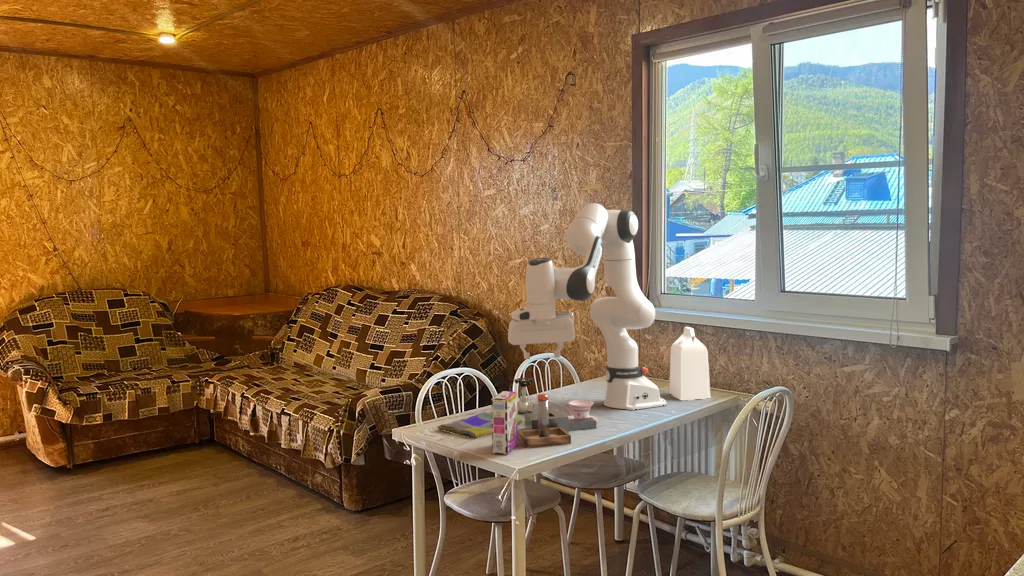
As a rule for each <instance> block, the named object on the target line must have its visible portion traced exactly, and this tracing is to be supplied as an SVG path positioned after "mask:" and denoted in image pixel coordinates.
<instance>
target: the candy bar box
mask: <svg viewBox="0 0 1024 576" xmlns="http://www.w3.org/2000/svg"><path fill="white" fill-rule="evenodd" d="M517 402H518V391H512V390H511V391H509V390H507V391H506V390H505V391H504V390H503V391H501V392H499V393H498V394H496V395H495V396H493V397H492V398H491V414H492V434H491V450H492V452H491V454H492V455H493V454H494V455H502V454H503V455H507V456H508V455H509V453H510V452H512V450H513V449H514V448H516V447H517V446H518V443H519V440H518V431H519V430H518V429H519V428H518V427H519V426H518V425H519V424H518V421H517V418H518V412H517Z"/></svg>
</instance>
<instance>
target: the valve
mask: <svg viewBox="0 0 1024 576" xmlns="http://www.w3.org/2000/svg"><path fill="white" fill-rule="evenodd" d="M513 381H514V383H515V384H516V385H517V384H519V386H520V387H521V388H522V389H521V390H520V391H521V396H519V401H517V413H522V414H525V413H535V402H534V401H529V396H527V387H528V386H530V384H531V383H533V382H534V379H533V378H531V377H529V378H527V377H523V378H521V377H518V378H517V379H516V378H514V379H513Z"/></svg>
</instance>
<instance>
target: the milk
mask: <svg viewBox="0 0 1024 576" xmlns="http://www.w3.org/2000/svg"><path fill="white" fill-rule="evenodd" d="M708 351H709V350H708V349H707V347H706V345H705V344H704V343H702V342H701V340H700V339H698V338H697V337H696V334H695V329H694V328H693V327H689V326H684V328H683V333H682V334H681V335H680V336H679V337H678V338H677V339H676V340H675V341H674V342H673V343H672V345H671V347H670V357H669V358H670V363H669V390H668V391H669V393H670V394H672V395H673V396H675V397H676V398H675V397H674V398H675V399H677V398H678V399H680V400H688V401H695V400H694V399H703V400H707V399H706V398H711V384H710V383H711V379H710V367H709V366H710V364H709V352H708ZM669 393H668V394H669ZM670 394H669V395H670ZM672 395H671V396H672ZM673 396H672V397H673ZM678 399H677V400H678ZM711 399H712V398H711ZM680 400H679V401H680Z"/></svg>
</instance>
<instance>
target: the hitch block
mask: <svg viewBox="0 0 1024 576" xmlns="http://www.w3.org/2000/svg"><path fill="white" fill-rule="evenodd" d="M568 416H569V415H568ZM568 416H567V415H566V414H565V413H564V412H562V411H561V410H552V411H550V410H549V428H558V427H562V428H563V429H564V430H565V431H566V432H567V433H569V432H572V431H580V430H581V431H582V430H592V429H591V428H594V429H597V423H596V420H594V419H593V418H592V417H589V418H577V419H568ZM524 429H525V430H535V429H539V424H538V411H537V412H533V413H529V412H528V413H524ZM569 434H570V433H569Z"/></svg>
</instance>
